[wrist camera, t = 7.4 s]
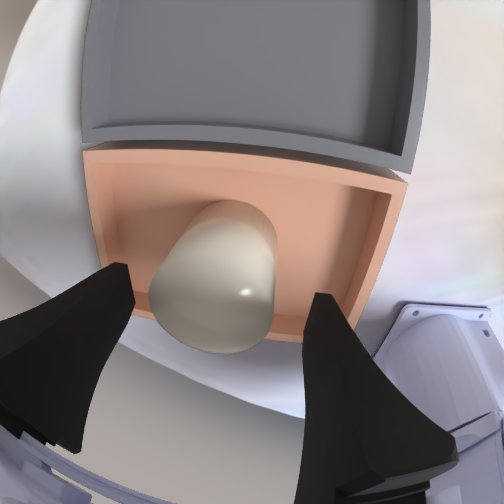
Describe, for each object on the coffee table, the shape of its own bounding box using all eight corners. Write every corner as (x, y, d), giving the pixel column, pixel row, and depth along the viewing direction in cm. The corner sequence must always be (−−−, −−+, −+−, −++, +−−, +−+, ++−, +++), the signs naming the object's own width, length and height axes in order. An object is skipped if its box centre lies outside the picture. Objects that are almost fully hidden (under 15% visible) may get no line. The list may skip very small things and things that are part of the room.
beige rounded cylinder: (284, 207, 12) (284, 270, 8) (270, 284, 14) (263, 361, 10) (189, 194, 12) (141, 248, 8) (189, 271, 15) (156, 340, 10)
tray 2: (387, 168, 11) (408, 183, 9) (340, 316, 17) (345, 346, 14) (111, 140, 12) (82, 151, 10) (129, 285, 17) (113, 309, 15)
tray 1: (406, -10, 6) (427, -26, 4) (389, 160, 11) (410, 174, 9) (126, -25, 7) (101, -38, 5) (111, 133, 12) (82, 142, 10)
